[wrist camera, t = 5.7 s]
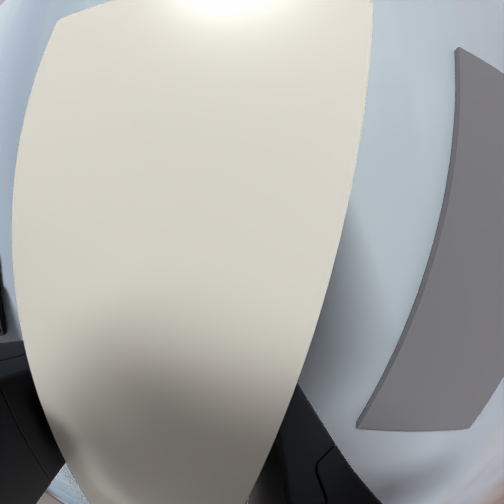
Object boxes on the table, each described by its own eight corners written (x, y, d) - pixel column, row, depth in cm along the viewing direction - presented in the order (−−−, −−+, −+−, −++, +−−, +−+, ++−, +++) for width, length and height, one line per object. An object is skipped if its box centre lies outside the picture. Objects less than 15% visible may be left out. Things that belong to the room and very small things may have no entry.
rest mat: (356, 422, 10) (357, 428, 10) (454, 50, 7) (458, 46, 6) (466, 423, 10) (469, 428, 9) (557, 123, 6) (562, 122, 5)
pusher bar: (160, 437, 11) (106, 527, 5) (195, 108, 8) (58, 19, 2) (240, 462, 11) (209, 566, 5) (325, 127, 8) (373, 1, 2)
